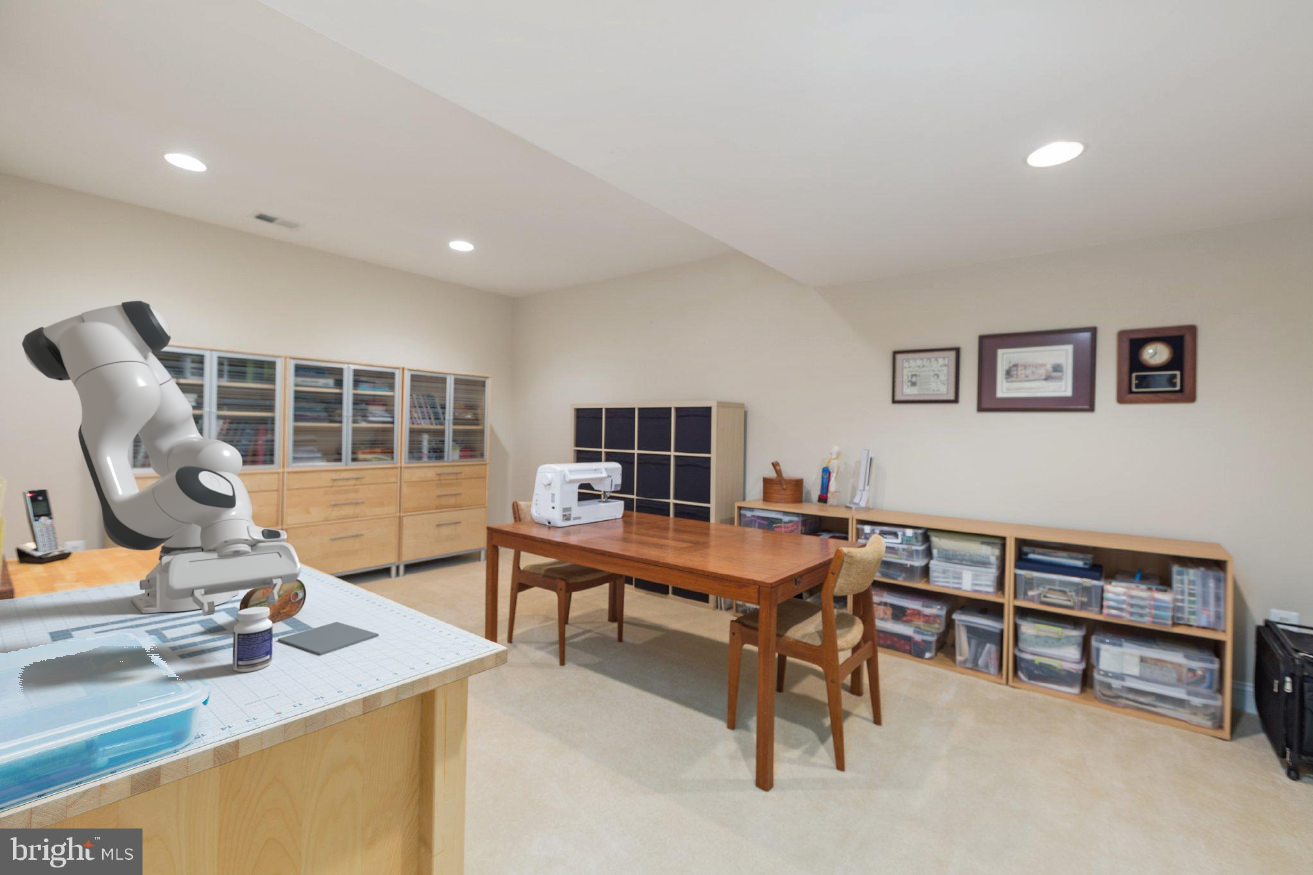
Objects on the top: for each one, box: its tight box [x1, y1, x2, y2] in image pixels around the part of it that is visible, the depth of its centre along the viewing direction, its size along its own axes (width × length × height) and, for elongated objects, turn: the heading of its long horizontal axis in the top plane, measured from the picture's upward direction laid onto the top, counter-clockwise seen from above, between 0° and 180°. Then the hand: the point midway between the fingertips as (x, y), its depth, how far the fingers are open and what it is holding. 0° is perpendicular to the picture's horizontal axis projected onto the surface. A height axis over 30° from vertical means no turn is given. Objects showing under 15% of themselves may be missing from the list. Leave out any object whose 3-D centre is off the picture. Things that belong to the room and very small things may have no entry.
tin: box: [238, 578, 307, 625], centre depth 124 cm, size 15×3×8 cm, turn 168°
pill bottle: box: [232, 607, 274, 673], centre depth 101 cm, size 6×6×10 cm
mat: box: [277, 621, 379, 656], centre depth 115 cm, size 14×12×1 cm
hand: (242, 608), depth 103 cm, fingers open, 8 cm apart
